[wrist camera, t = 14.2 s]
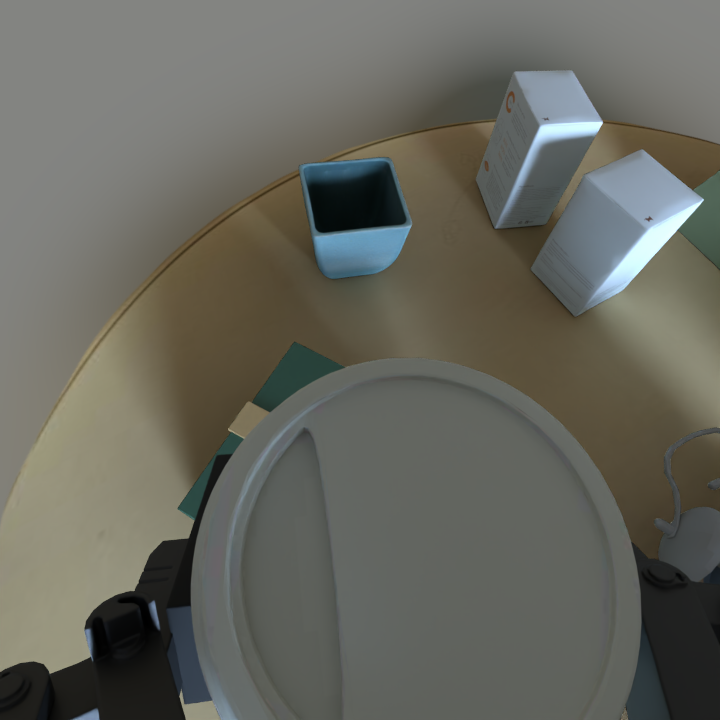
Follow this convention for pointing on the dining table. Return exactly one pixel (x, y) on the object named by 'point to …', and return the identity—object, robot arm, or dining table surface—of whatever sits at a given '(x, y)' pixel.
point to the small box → (535, 147)
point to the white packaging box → (612, 230)
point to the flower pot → (354, 215)
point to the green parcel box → (265, 408)
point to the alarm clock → (691, 530)
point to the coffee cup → (414, 558)
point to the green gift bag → (706, 220)
